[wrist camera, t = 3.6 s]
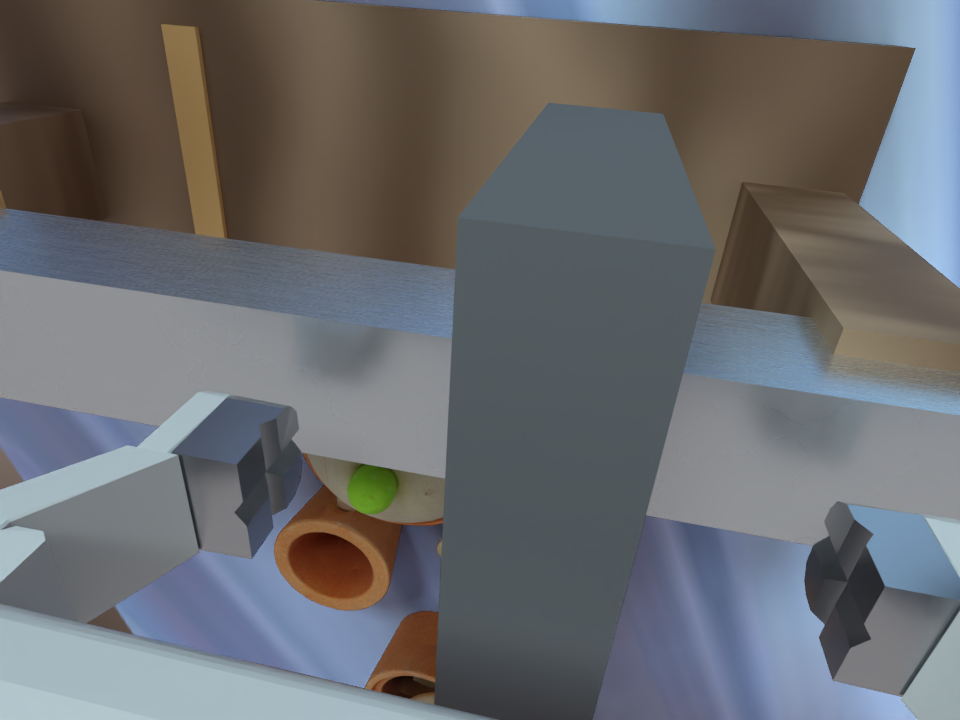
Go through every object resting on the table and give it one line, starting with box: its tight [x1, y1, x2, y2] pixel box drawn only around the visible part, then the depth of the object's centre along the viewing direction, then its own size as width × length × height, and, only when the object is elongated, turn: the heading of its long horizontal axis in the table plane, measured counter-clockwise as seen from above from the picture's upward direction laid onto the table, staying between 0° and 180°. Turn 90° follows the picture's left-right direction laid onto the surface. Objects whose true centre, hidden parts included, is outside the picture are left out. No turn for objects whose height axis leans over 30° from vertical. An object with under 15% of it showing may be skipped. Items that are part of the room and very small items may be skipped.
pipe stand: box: [0, 0, 960, 546], centre depth 18 cm, size 30×12×14 cm, turn 86°
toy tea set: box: [274, 453, 445, 705], centre depth 27 cm, size 26×16×10 cm, turn 22°
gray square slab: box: [434, 103, 716, 720], centre depth 12 cm, size 2×9×9 cm, turn 176°
